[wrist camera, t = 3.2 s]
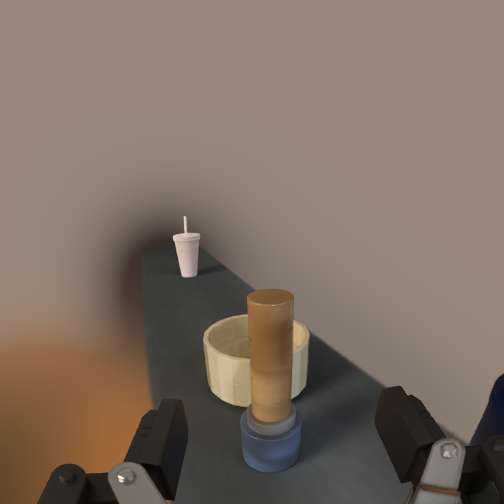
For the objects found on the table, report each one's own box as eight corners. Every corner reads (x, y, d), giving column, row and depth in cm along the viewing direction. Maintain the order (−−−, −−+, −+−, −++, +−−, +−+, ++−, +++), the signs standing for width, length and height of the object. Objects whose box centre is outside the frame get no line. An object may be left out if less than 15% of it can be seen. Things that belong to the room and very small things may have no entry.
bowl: (311, 361, 36) (313, 316, 35) (299, 418, 26) (302, 366, 25) (227, 353, 39) (224, 310, 38) (193, 402, 29) (185, 352, 28)
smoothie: (199, 270, 79) (196, 214, 76) (205, 276, 73) (201, 216, 70) (174, 273, 77) (170, 216, 74) (178, 280, 71) (173, 218, 68)
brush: (303, 437, 23) (311, 286, 21) (294, 476, 19) (304, 313, 16) (251, 431, 25) (244, 282, 22) (235, 467, 20) (221, 307, 17)
